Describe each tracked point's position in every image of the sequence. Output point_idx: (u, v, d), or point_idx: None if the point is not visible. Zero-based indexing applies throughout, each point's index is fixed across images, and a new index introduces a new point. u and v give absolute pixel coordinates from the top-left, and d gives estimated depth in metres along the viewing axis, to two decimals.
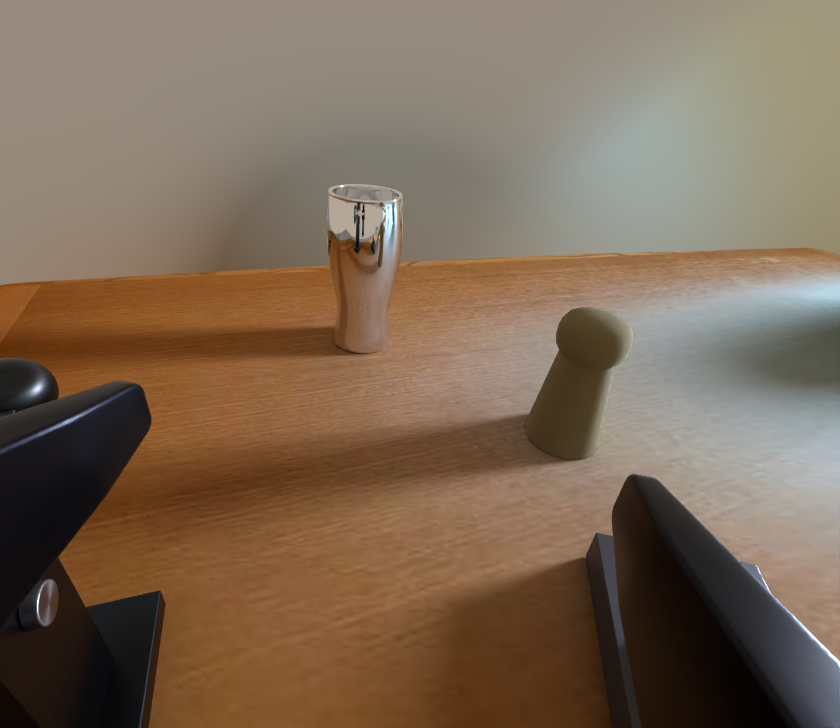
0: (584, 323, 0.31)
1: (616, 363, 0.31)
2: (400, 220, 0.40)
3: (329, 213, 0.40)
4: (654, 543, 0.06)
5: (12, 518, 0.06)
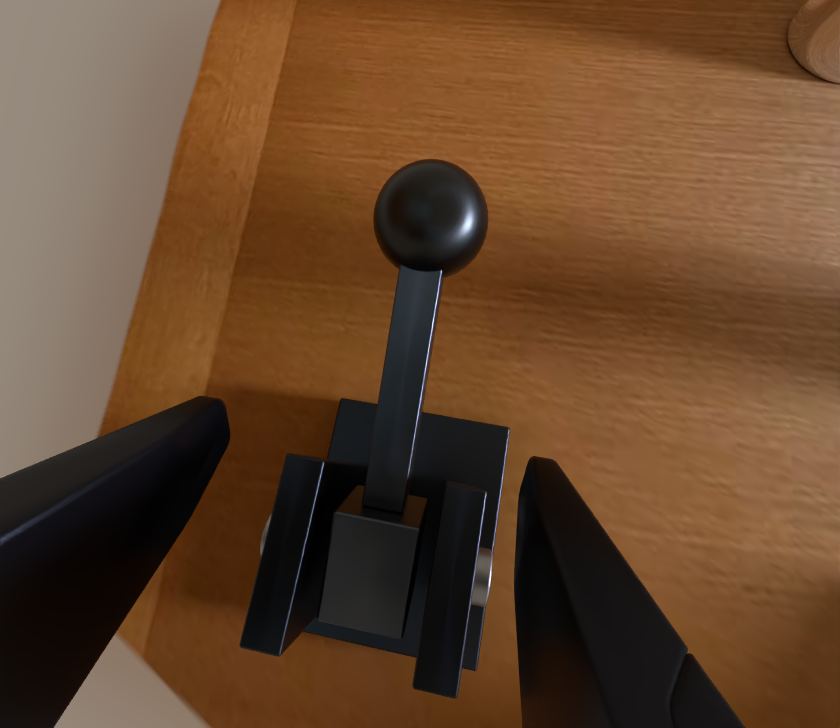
0: None
1: None
2: None
3: None
4: (535, 520, 0.06)
5: (117, 541, 0.06)
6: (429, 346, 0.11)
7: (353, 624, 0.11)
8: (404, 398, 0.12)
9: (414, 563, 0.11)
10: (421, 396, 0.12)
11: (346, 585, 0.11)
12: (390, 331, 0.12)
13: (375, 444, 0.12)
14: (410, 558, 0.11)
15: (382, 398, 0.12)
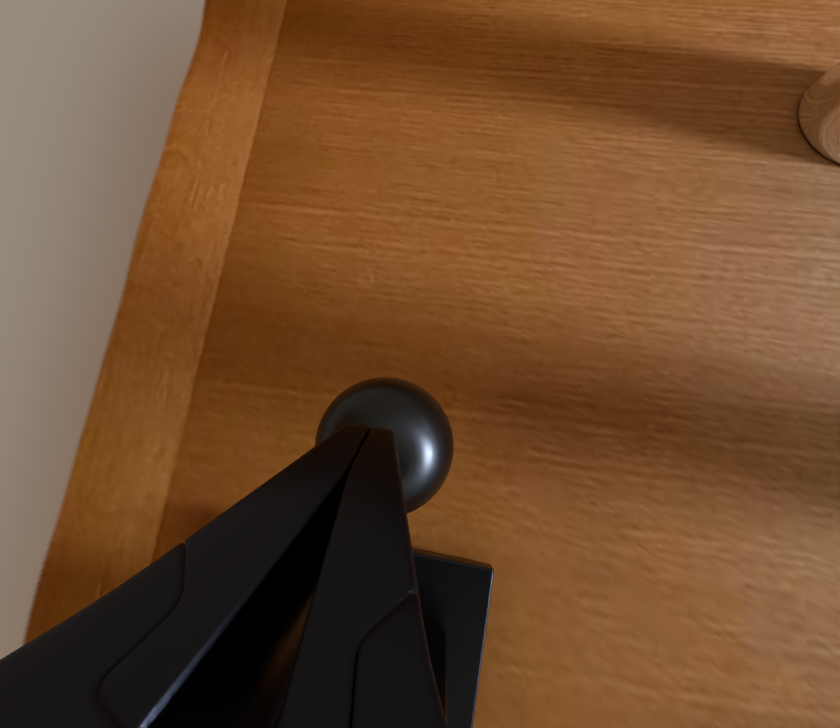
0: None
1: None
2: None
3: None
4: None
5: (306, 583, 0.06)
6: None
7: None
8: None
9: None
10: None
11: None
12: None
13: None
14: None
15: None
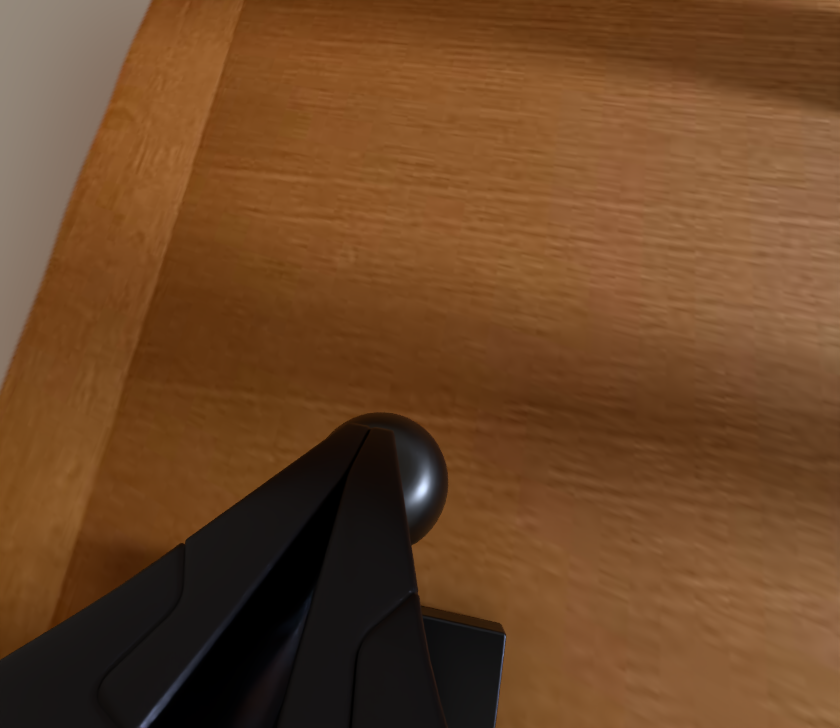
0: None
1: None
2: None
3: None
4: None
5: (306, 583, 0.06)
6: None
7: None
8: None
9: None
10: None
11: None
12: None
13: None
14: None
15: None
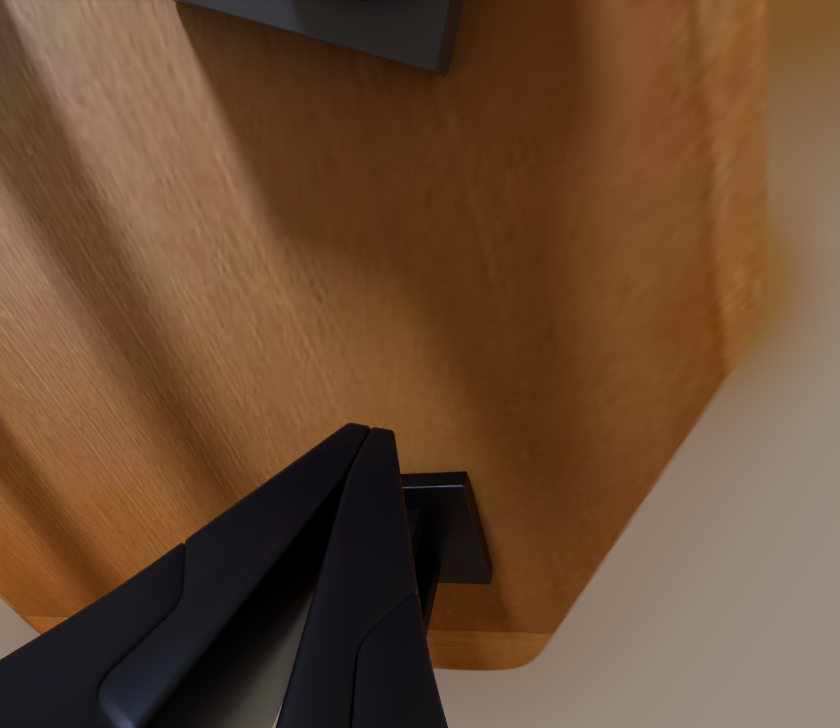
0: None
1: None
2: None
3: None
4: None
5: (306, 583, 0.06)
6: None
7: None
8: None
9: None
10: None
11: None
12: None
13: None
14: None
15: None
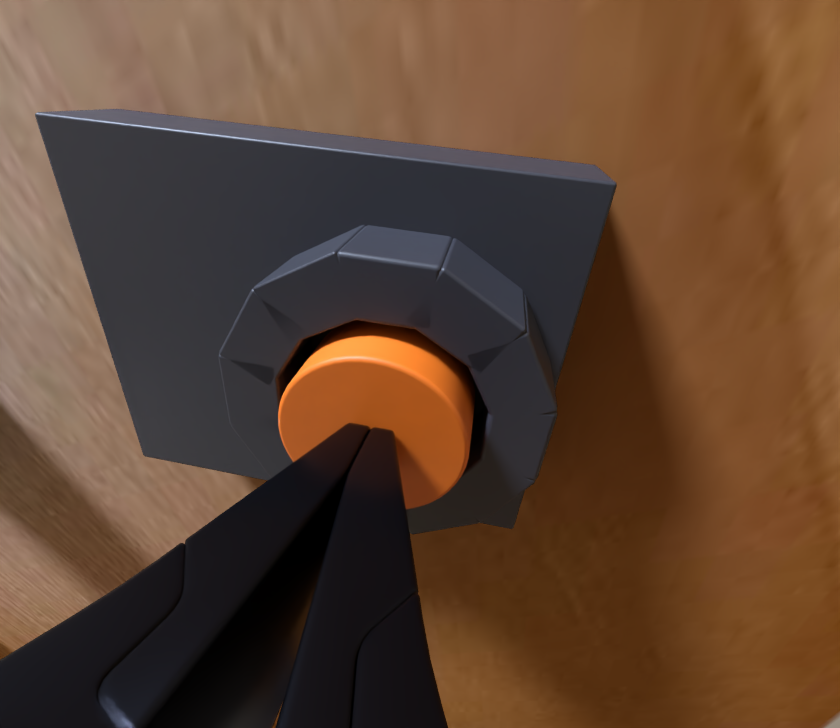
0: None
1: None
2: None
3: None
4: None
5: (307, 583, 0.06)
6: None
7: None
8: None
9: None
10: None
11: None
12: None
13: None
14: None
15: None
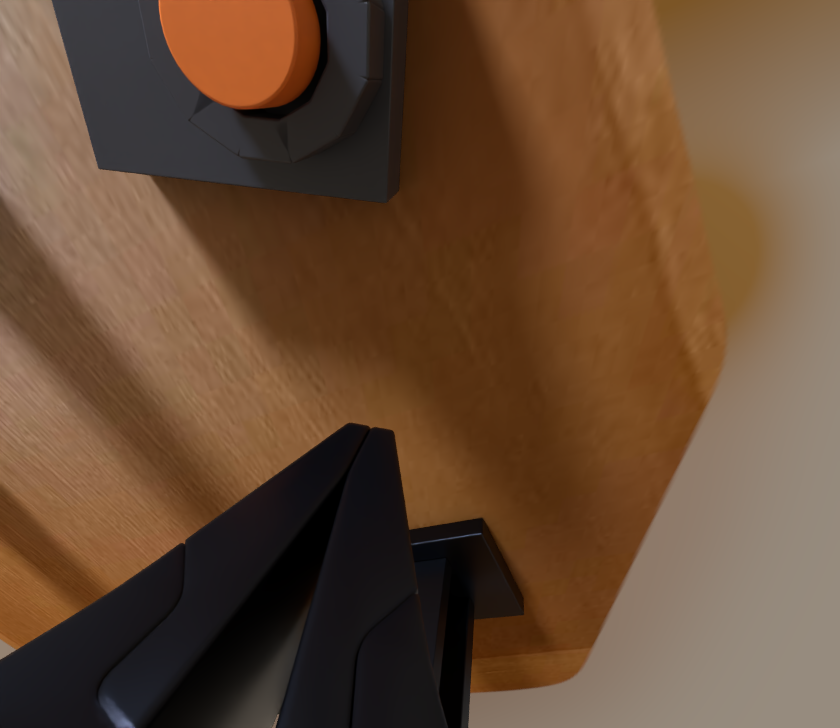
0: None
1: None
2: None
3: None
4: None
5: (307, 583, 0.06)
6: None
7: None
8: None
9: None
10: None
11: None
12: None
13: None
14: None
15: None
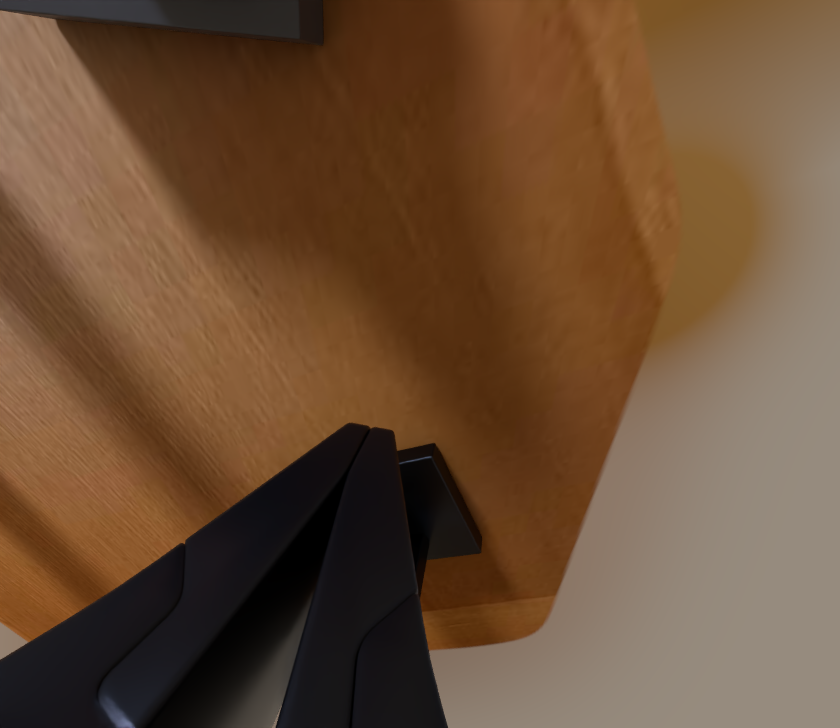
0: None
1: None
2: None
3: None
4: None
5: (306, 583, 0.06)
6: None
7: None
8: None
9: None
10: None
11: None
12: None
13: None
14: None
15: None
